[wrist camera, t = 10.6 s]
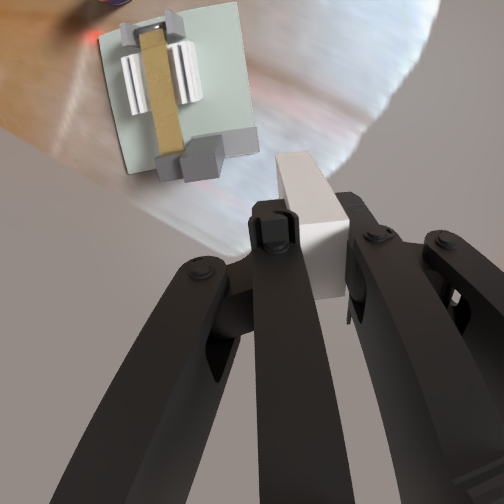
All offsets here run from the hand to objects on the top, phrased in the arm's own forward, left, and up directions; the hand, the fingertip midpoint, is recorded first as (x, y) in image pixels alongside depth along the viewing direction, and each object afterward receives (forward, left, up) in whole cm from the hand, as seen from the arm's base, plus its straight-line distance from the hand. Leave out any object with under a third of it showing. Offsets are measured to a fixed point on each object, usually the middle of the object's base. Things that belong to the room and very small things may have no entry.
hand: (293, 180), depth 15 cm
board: (-4, -11, -32) cm, 34 cm away
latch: (+5, -10, -30) cm, 32 cm away
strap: (-4, -12, -26) cm, 29 cm away
